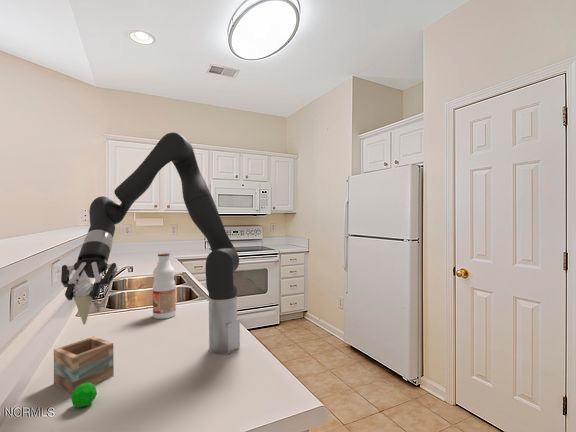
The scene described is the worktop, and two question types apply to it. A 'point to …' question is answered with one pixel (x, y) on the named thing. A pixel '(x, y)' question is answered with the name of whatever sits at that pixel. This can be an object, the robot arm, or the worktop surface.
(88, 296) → the ice cream cone
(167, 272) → the fruit juice
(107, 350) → the square wooden crate
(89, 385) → the polyhedron
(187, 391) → the worktop surface
